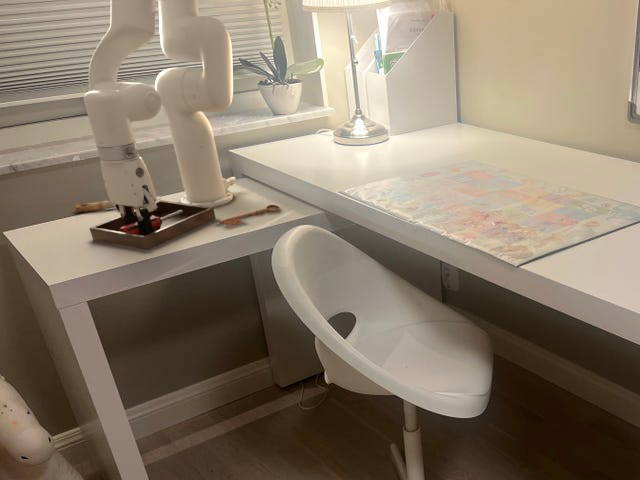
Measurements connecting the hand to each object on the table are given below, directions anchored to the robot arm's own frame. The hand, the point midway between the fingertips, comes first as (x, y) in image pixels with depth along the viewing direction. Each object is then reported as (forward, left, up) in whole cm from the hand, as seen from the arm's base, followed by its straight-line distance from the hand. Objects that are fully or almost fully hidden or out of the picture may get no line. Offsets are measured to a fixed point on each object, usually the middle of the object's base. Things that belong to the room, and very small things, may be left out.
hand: (141, 234), depth 162 cm
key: (-19, +15, -1) cm, 24 cm away
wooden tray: (-4, 0, -1) cm, 4 cm away
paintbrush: (-13, -22, -1) cm, 25 cm away
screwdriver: (-4, 0, 0) cm, 4 cm away
